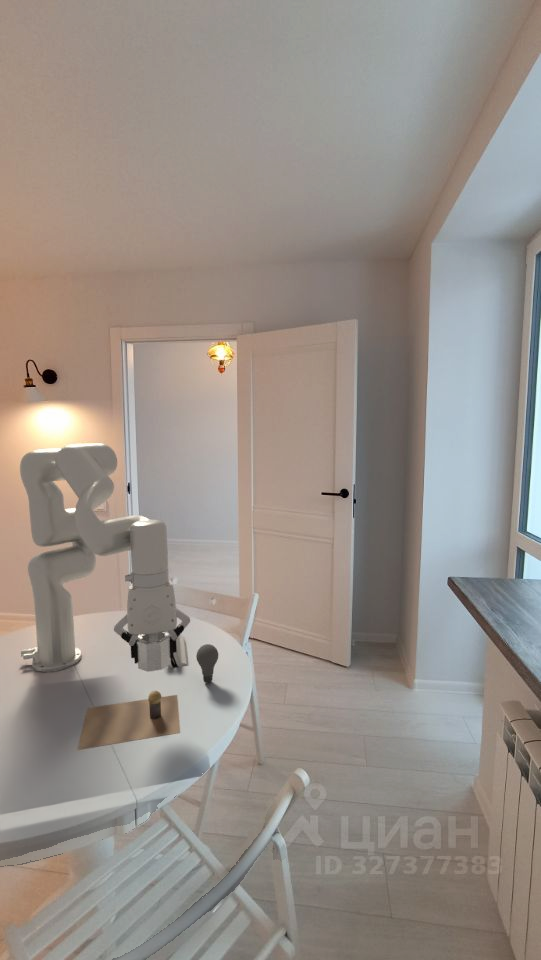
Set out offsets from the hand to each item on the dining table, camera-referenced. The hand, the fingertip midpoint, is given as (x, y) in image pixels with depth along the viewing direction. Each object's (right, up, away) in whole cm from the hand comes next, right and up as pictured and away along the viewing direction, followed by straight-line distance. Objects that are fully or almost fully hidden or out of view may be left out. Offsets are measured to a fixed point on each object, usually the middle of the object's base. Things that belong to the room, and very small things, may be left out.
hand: (154, 657), depth 98 cm
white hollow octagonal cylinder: (0, -1, 0) cm, 1 cm away
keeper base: (-5, -15, +1) cm, 16 cm away
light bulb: (+9, -14, +18) cm, 24 cm away
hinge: (-2, -12, +31) cm, 33 cm away
